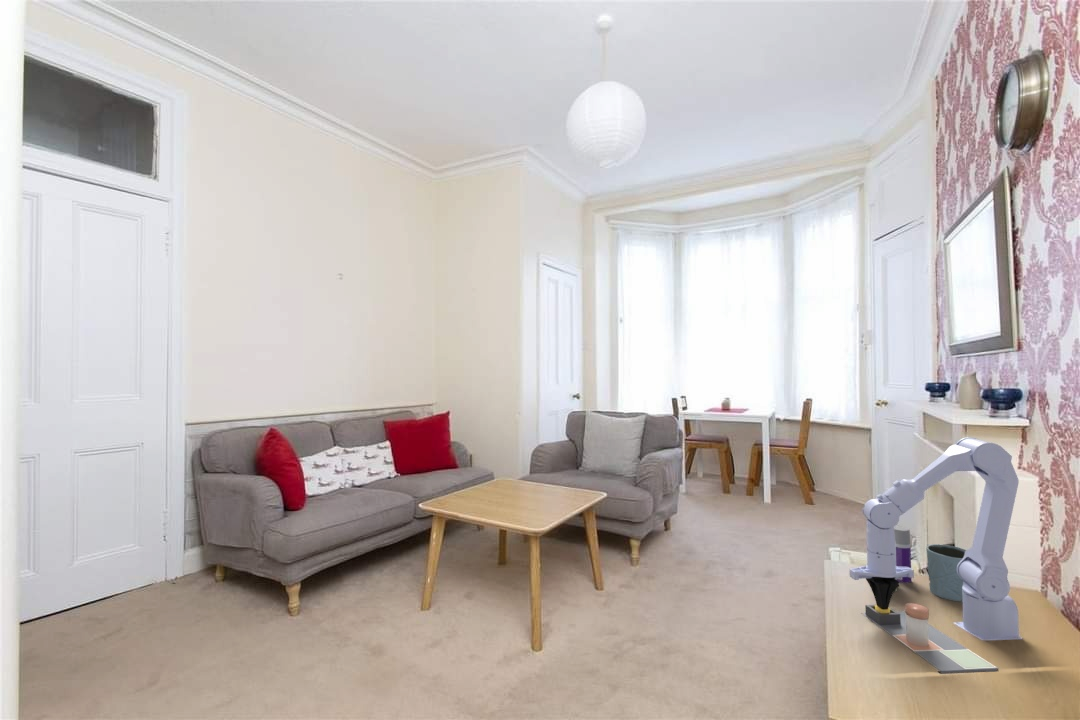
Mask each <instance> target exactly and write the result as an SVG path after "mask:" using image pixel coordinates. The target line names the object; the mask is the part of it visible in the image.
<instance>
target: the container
mask: <svg viewBox="0 0 1080 720" xmlns="http://www.w3.org/2000/svg"><path fill="white" fill-rule="evenodd" d="M894 534H895V542H896V566H899V567H909V568H911V569H912V554H911V553H912V550H911V549H912V548H911V547H912V545H911V531H910V528H908V527H906V526H902V525H896V526H894ZM896 580H897V581H899V583H906V584H907V583H912V578H909V577H896Z"/></svg>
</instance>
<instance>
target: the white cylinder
mask: <svg viewBox="0 0 1080 720" xmlns="http://www.w3.org/2000/svg"><path fill="white" fill-rule="evenodd" d="M904 605H905V606H904V608H905V609H904V611H905V613H906V640H907V641H908V642H909V643H910V644H913V645H915V646H919V647H927V646H928V645H929V632H928V624H929V618H930V610H929V609H928V608H927V607H926V606H924V605H921V604H919V603H913V602H912V603H911V602H910V603H905V604H904Z"/></svg>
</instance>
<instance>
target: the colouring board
mask: <svg viewBox="0 0 1080 720" xmlns="http://www.w3.org/2000/svg"><path fill="white" fill-rule="evenodd" d="M897 612H898V613H899V614H900V619H901V624H898V625H879V624H878V623H876V622H875V621H873V620H872V619H871V618H869V617H868V616H867V615H866V612H861V613H860V614H861V615H863V616H864V617H865V618H867V619H868V620H870V621H871V622H872V623H874V624H875V625H876V626H878V627H879V628H880V629H882V630H883V631H885V632H886V633H887V634H889V635H890V636H891V637H892V638H894V639H895V640H897V641H899V642H900V643H901V644H902V645H904V646H905V647H907V648H908V649H909V650H911V651H912V652H913V653H915V654H917V656H918V657H920V658H921V659H923V660H924V661H925V662H927V663H928V664H930V665H931V666H932V667H934V668H935V669H937V670H938V671H937V673H939V674H940V675H944V674H945V675H946V674H947V675H950V674H968V673H969V674H970V673H972V674H973V673H990V672H991V673H992V672H999V667H997V666H995V665H994V664H992V663H991V662H989V661H987V660H986V659H985V658H983V657H981V656H979V655H978V654H977V653H975V652H974V651H972V650H970V649H969V648H967V647H966V646H964V645H962V644H961V643H959V642H958V641H956V640H954V639H953V638H952V637H950V636H948V635H947V634H945V633H944V632H942V631H940V630H939V629H937V628H935V627H934V626H932V625H931V624H929V623H928V632H929V645H928V646H927V647H919V646H915V645H913V644H910V643H909V642H908V641H907V640H906V613H905V610H902V611H900V610H899V611H897Z"/></svg>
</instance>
